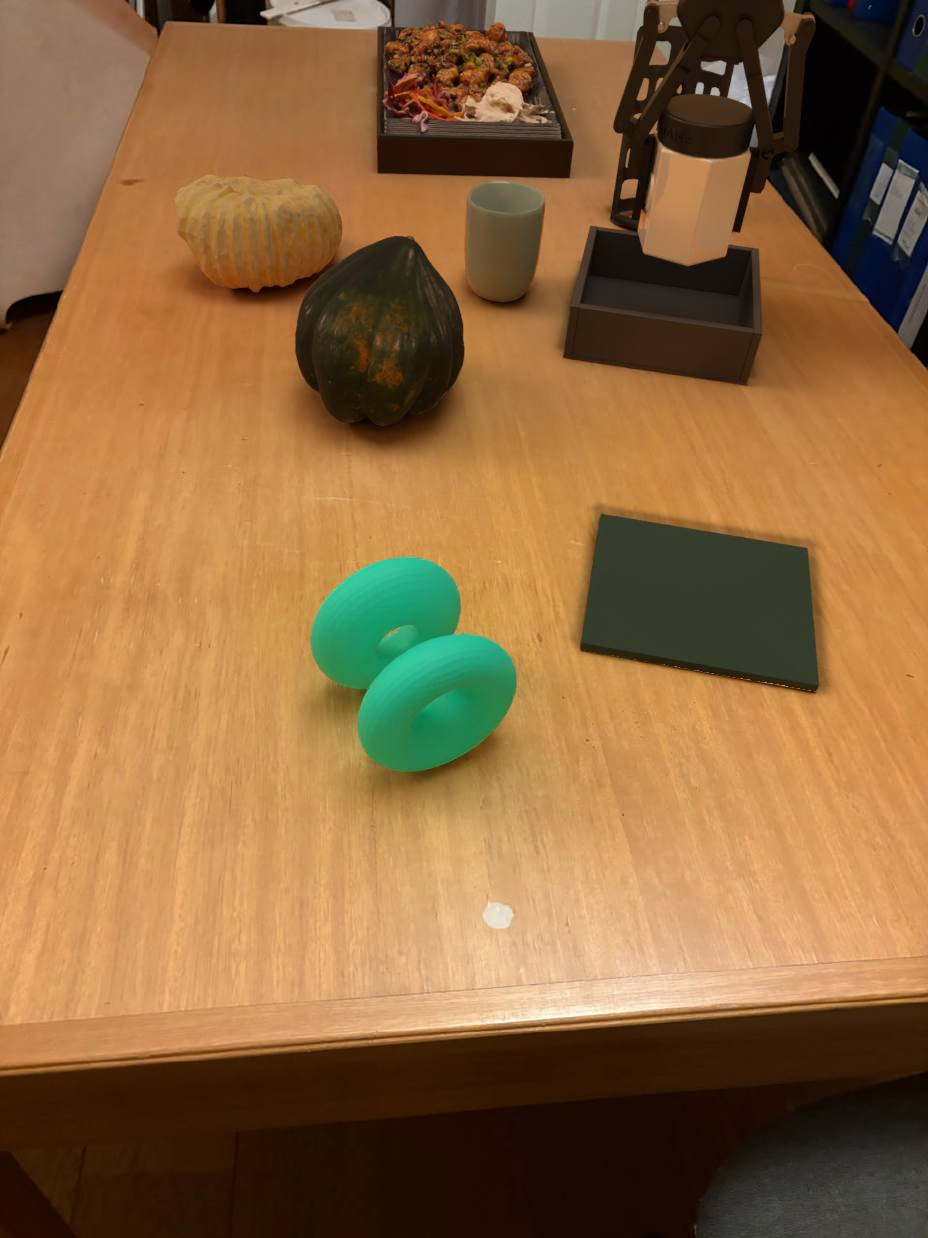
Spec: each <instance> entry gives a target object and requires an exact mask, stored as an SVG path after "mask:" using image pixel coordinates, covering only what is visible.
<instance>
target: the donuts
mask: <svg viewBox="0 0 928 1238" xmlns="http://www.w3.org/2000/svg"><path fill="white" fill-rule="evenodd" d="M461 602H462V600H461V594H460V591H459V588H458V586H457V583H456V581H455V580H454V578H453V577H452V576H451V574H450V573H449V572H448V571H447V570H446V569H445V568H444V567H442V566H441V565H439V564H438V563H437V562H434V561H431V560H429V559H426V558H422V557H418V556H397V557H391V558H390V557H389V558H386V559H382V560H379V561H376V562H372V563H370V564H368V565H366V566H364V567H362V568H360V569H358V570H357V571H355V572H354V573H352V574H350V575H349V576H348V577H346V578H345V579H343V581H341V582H340V583H339V584H338V585H336V587H335V588H334V589H332V591H331V592H330V593H329V594H328V595H327V596H326V598H325V599H324V601H322V604H321V605H320V607H319V608H318V610H317V612H316V614H315V617H314V619H313V622H312V626H311V631H310V640H309V641H310V649H311V653H312V657H313V659H314V662H315V664H316V665H317V667H318V669H319V670H320V672H322V673H323V674H324V676H326V677H327V678H328V679H329V680H331V681H333V682H334V683H336V684H338V685H340V686H342V687H346V688H349V689H354V690H366V692H365V694H364V696H363V698H362V700H361V702H360V703H361V704H360V707H359V710H358V713H357V735H358V739H359V743H360V745H361V747H362V749H363V750H364V752H365V753H366V755H367V756H368V757H369V758H370V759H371V760H372V761H374V763H376V764H378V765H379V766H381V767H383V768H385V769H388V770H391V771H396V772H404V773H405V772H406V773H407V772H409V773H411V772H422V771H426V770H431V769H435V768H438V767H440V766H443V765H445V764H446V765H447V764H448V763H451V762H452V761H454V760H456V759H458V758H460V757H462V756H463V755H465V754H467V753H468V752H470V751H471V750H472V749H475V748H476V747H477V746H478V745H479V744H481V743H482V742H483V741H485V740H486V739H487V738H488V737H489V736H490V735H491V734H492V733H493V732H494V730H496V729H497V728H498V726H499V725H500V724H501V723H502V721H503V720H504V718H505V717H506V716H507V714H508V713H509V711H510V708H511V706H512V705H513V701H514V699H515V695H516V692H517V685H518V683H517V682H518V677H517V670H516V666H515V664H514V661H513V659H512V657H511V656H510V654H509V653H508V652H507V650H506V649H505V648H503V646H501V645H500V644H499V643H497V642H496V641H494V640H492V639H490V638H488V637H485V636H482V635H479V634H472V633H456V631H457V628H458V626H459V622H460V617H461V613H462V603H461ZM394 630H395V631H394ZM392 631H393V632H392ZM390 632H392V633H390ZM389 633H390V634H389ZM388 634H389V635H388Z"/></svg>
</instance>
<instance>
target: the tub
mask: <svg viewBox="0 0 928 1238" xmlns="http://www.w3.org/2000/svg"><path fill="white" fill-rule="evenodd" d="M760 265H761V264H760V249H759V248H757V247H749V246H743V245H735V244H729V246H728V250H727V254H726V256H725V257H723V258H719V259H715V260H711V261H707V262H703V263H699V264H695V265H692V266H684V265H681V264H677V263H674V262H670V261H667V260H663V259H660V258H656V257H653V256H649V255H646V254H644V253H643V250H642V246H641V243H640V239H639V235H638V231H632V230H625V229H616V228H612V227H611V228H610V227H602V226H596V225H589V229H588V233H587V237H586V240H585V245H584V249H583V254H582V257H581V261H580V266H579V270H578V274H577V278H576V282H575V285H574V290H573V295H572V299H571V303H570V307H569V313H568V314H569V315H568V321H567V329H566V336H565V341H564V349H563V356H562V357H563V358H565V359H570V360H578V361H583V362H584V361H585V362H591V363H596V364H597V363H598V364H603V365H604V364H605V365H611V366H618V367H624V368H630V369H631V368H632V369H637V370H643V371H650V372H656V373H663V374H669V375H676V376H683V377H691V378H696V379H704V380H711V381H717V382H722V383H723V382H724V383H730V384H736V385H737V384H738V385H742V386H743V385H744V386H747V385H748V382H749V379H750V375H751V372H752V369H753V367H754V363H755V360H756V356H757V354H758V351H759V347H760V344H761V341H762V338H763V334H764V332H763V331H764V330H763V313H762V311H763V310H762V309H763V307H762V288H761V267H760Z"/></svg>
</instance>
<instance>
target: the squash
mask: <svg viewBox="0 0 928 1238" xmlns="http://www.w3.org/2000/svg"><path fill="white" fill-rule="evenodd" d="M294 334H295V335H294V337H295V338H294V340H295V341H294V344H295V345H294V352H295V357H296V361H297V366H298V368H299V371H300V374H301V376H302V377H303V379H304V381H305V382H306V384H307V385H308V386H309V387H310V388H311V389H313V390H314V391H315V392H316V393H318V394H320V398H321V400H322V404H323V405H324V407H325V409H326V411H327V413H328V414H329V415H330V416H332V417H333V418H334V419H335V420H336V421H338V422H340V423H344V424H351V423H357V422H360V421H362V420H364V419H365V418H368V419H369V420H370V421H371V422H372V423H373V424H375V425H377V426H380V427H387V426H391V425H395V424H396V423H398V422H399V421H400V420H402V419H403V417H404V416H405V415H406V414H410V415H418V414H422V413H426V412H428V411H429V412H430V410H432V409H434V408H435V406H436V405H437V404H438V403H439V402H440V400H442V398H443V397H444V395H445V394H446V393H448V392H449V391H450V390H451V389H452V387H453V386H454V384H455V383H456V381H457V379H458V377H459V376H460V373H461V371H462V369H463V366H464V361H465V354H466V353H465V352H466V351H465V349H466V347H465V340H464V322H463V317H462V312H461V309H460V306H459V302H458V300H457V298H456V296H455V294H454V292H453V290H452V289H451V287H450V285H449V284H448V283H447V282H446V280H445V279H444V278H443V276H442V275H441V273H439V271H438V270H437V269H436V267H435V266H434V265H433V264H432V262H431V261H430V259H429V258H428V256H427V254H426V253H425V251H424V249H423V247H422V246H421V245H420V244H419V243H418V242H417V241H416V239H415V237H414V236H412V235H407V236H403V235H393V236H389V237H386V238H383V239H380V240H377V241H374V242H373V243H371V244H368V245H365V246H363V247H361V248H359V249H357V250H355V251H353V252H352V253H350V254H349V255H348V256H346V257H345V258H343V259H342V260H340V261H339V262H338V263H336V264H335V265H333V266H332V267H330V268H328V269H327V270H325V272H323V273H322V274H321V275H320V276H319V277H318V278H317V279H316V280H315V281H314V282H313V283H311V284H310V286H309V288H307V291H306V292H305V295H304V296H303V299H302V302H301V305H300V307H299V311H298V315H297V320H296V328H295V333H294Z"/></svg>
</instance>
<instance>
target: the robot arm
mask: <svg viewBox="0 0 928 1238" xmlns="http://www.w3.org/2000/svg"><path fill="white" fill-rule="evenodd" d="M674 18H677V20H678V21H679V24H680V26H682V29H683V31H684V33H685V36H686V38H687V41H686V42H685V44H684V45H683V47H682V49H681V50H680V52H679V54H678V56H677V58H676V59H675V61H674V63H673V64H672V66H671V67H670V69H669V71H668V72H667V74H666V75H665V77H664V79H663V78H662V80H661V81H660V83H659V85H657V87H656V89H655V93H654V94H653V96H652V98H651V99H650V101H649V102H648V104H647V105H646V107H645V109H644V110H643V112H642V113H640V115H639V117H638V118H637V117H635V116H631V114H632V111H633V108H634V105H635V103H636V100H638V97H639V94H640V91H641V89H642V85H643V82H644V80H645V78H644V77H645V74H646V71H647V69H648V66H649V65H650V63H651V60H652V58H653V54H654V51H655V48H656V45H657V42H658V41H657V36H658V33H663V32H665V31H666V30H667V28H668V25H670V23H671V21H672V20H673V19H674ZM642 26H643V36H642V39H641V42H640V45H639V48H638V51H637V54H636V57H635V60H634V63H633V62H632V65H631V69H630V71H629V74H628V78H627V80H626V82H625V86H624V89H623V92H622V95H621V98H620V101H619V104H618V107H617V109H616V112H615V116H614V120H613V123H612V124H613V125H612V129H613V131H614V133H616V134H619V135H620V134H622V135H623V134H624V135H626V136H627V137H628V138H629V139H630V141H631V147H630V149H629V154H628V160H627V165H626V168H627V172H626V173H627V177H628V179H629V180H637V185H636V191H635V196H634V197H635V202H634V208H633V211H632V214H631V218H632V220H639V221H640V215H641V210H642V204H643V198H644V192H645V187H646V181H647V175H648V170H649V164H650V158H651V153H652V147H653V141H654V136H651V135H648V134H651V132H652V130H653V128H654V127H655V125H657V122H658V119H659V117H660V116H661V114H662V113H663V111H664V110H665V108H666V107H667V105H668V104H669V102H670V101H671V99H672V97H673V96H674V94H675V93H676V91H677V92H678V90H679V88H680V86H681V84H682V82H683V80H684V79H685V77H686V76H687V74H688V73H689V72H690V71H691V70H692V68H693V67H694V65H695V64H696V62H697V60H698V59H701V63H702V62H704V63H714V62H719V61H721V62H723V63H725V64H726V63H728V64H732V65H734V66H739V65H740V64H742V65H743V70H744V76H745V80H746V85H747V90H748V96H749V100H750V101H749V102H750V106H751V108H752V112H753V117H754V122H755V125H754V129H755V133H756V137H757V143H758V147H757V146H749V148H748V149H749V151H750V153H751V157H750V161H749V165H748V169H747V173H746V177H745V181H744V185H743V189H742V193H741V197H740V201H739V205H738V209H737V213H736V217H735V221H734V225H733V229H732V233H738V234H740V233H741V231H742V228H743V223H744V219H745V215H746V211H747V207H748V203H749V199H750V195H751V194H759V195H760V194H762V192H763V191H764V189H765V186H766V183H767V179H768V176H769V171H770V168H771V165H772V164H771V163H772V161H773V159H774V158H775V157H776V155H778V154H780V153H784V152H785V153H792V152H795V151H796V150H797V149H798V148H799V140H800V129H801V128H800V127H801V117H802V103H803V92H804V81H805V70H806V56H807V52H808V50H809V48H810V45H811V43H812V40H813V38H814V35H815V33H816V31H817V24H816V20H815V15H814V14H813V13H812V12H810V11H806V12H803V13H802V14H800V13H797V12H793V11H790V10H786V9H785V5H784V0H647V1H646V2H645V6H644V9H643V15H642ZM779 28H781V29H783V31H784V33H783V39H784V44H785V45H787V46H788V53H787V67H786V68H787V69H786V81H785V82H786V83H785V94H784V95H785V96H784V109H783V123H782V131H780V132H776V133H775V132H774V131H773V125H772V120H771V115H770V109H769V103H768V98H767V93H766V87H765V81H764V75H763V69H762V65H761V64H762V63H761V58H760V52H759V49H760V48H761V47H762V46H763V45H764V44H765V43H766V42H767V41H768V40H769V39H770V37H772V35H774V34H775V33H776V31H777V30H778V29H779Z"/></svg>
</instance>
